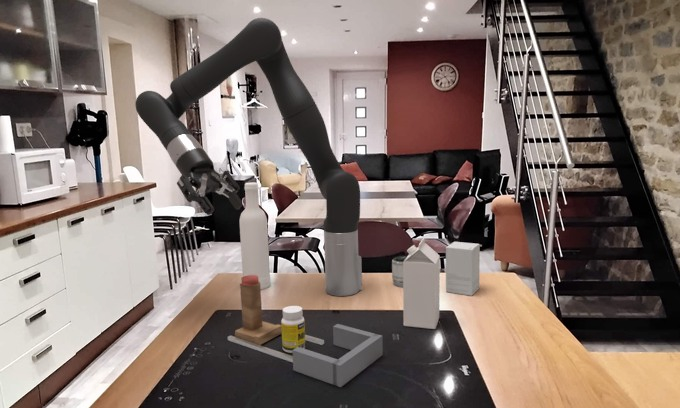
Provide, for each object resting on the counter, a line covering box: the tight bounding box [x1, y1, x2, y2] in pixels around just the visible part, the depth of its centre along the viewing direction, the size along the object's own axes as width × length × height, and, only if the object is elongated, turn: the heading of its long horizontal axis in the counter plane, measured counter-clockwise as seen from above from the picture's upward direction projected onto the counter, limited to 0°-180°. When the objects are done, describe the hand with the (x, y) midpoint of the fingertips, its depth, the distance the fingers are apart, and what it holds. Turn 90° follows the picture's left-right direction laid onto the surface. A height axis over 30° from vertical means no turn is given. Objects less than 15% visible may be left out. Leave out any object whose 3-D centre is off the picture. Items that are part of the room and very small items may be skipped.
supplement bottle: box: [280, 305, 306, 354], centre depth 96 cm, size 5×5×8 cm
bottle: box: [239, 181, 271, 290], centre depth 135 cm, size 8×8×30 cm
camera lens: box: [391, 255, 408, 288], centre depth 135 cm, size 6×6×8 cm
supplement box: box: [445, 241, 481, 297], centre depth 128 cm, size 7×7×13 cm
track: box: [227, 334, 325, 364], centre depth 100 cm, size 10×18×1 cm, turn 54°
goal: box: [292, 323, 384, 388], centre depth 90 cm, size 14×11×4 cm
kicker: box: [234, 275, 282, 346], centre depth 102 cm, size 7×7×13 cm
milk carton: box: [402, 237, 441, 330], centre depth 107 cm, size 7×7×19 cm
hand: (226, 209), depth 107 cm, fingers open, 8 cm apart
